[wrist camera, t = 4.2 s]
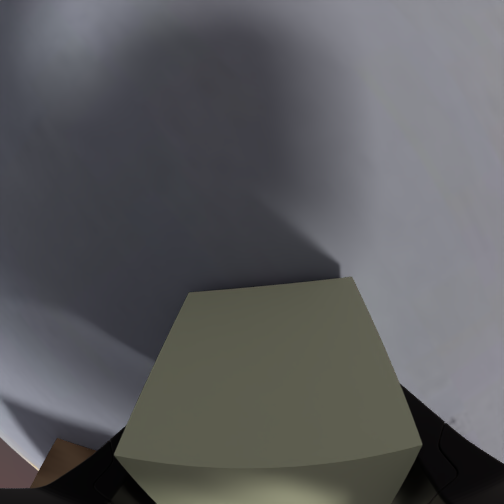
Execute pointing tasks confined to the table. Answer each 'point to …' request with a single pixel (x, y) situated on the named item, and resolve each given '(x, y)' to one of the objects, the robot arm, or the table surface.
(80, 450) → the walnut block
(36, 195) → the table surface
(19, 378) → the table surface
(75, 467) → the robot arm
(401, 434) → the sage block
